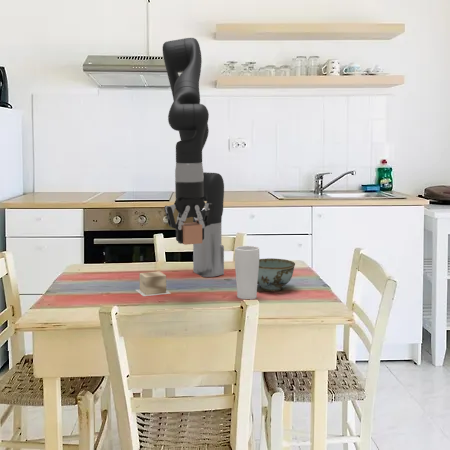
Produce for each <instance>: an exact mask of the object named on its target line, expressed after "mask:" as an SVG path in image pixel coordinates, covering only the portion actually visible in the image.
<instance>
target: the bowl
mask: <svg viewBox="0 0 450 450" xmlns="http://www.w3.org/2000/svg"><path fill="white" fill-rule="evenodd" d="M295 266H296V262H294V261H292V260H290V259H289V260H288V259H283V258H269V257H268V258H259V272H258V283H257V286H258V285H259V286H260V287H261V290H263V291H266V292H278V291H281V290H282V289H283V287H284V286H285V285H287V284H288V283H289V282H290V281H291V279H292V277H293V275H294V269H295Z"/></svg>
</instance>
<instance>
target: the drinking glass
mask: <svg viewBox="0 0 450 450" xmlns="http://www.w3.org/2000/svg"><path fill="white" fill-rule="evenodd" d="M259 259H260V248H259V247H258V246H254V245H240V246H236V247H235V248H234V269H235V271H234V272H235V279H236V280H235V282H236V297H237V298H238V299H240V300H245V299H250V300H255V299H257V297H258V295H257V293H258V284H257V283H258V272H259Z"/></svg>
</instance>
